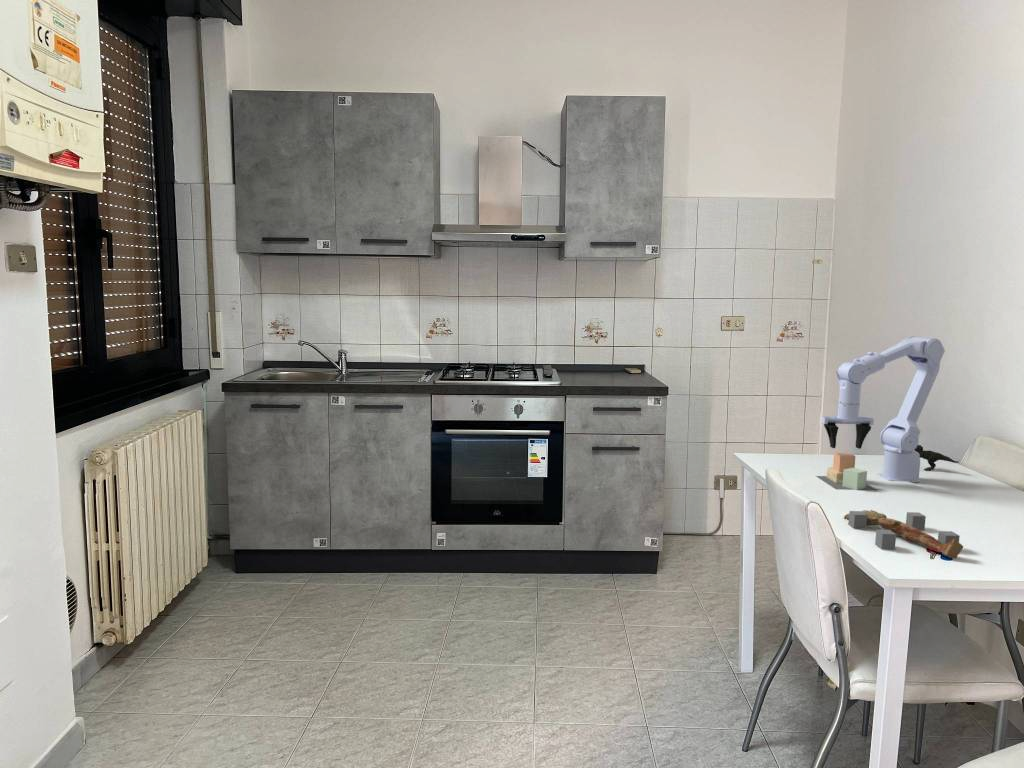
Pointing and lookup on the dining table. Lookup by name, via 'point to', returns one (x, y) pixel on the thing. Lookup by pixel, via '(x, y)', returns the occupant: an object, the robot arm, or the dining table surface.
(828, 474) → the oak slab
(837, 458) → the terracotta cube
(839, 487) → the mat
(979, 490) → the dining table surface
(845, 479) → the sage cube
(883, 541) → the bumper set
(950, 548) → the figurine
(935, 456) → the toy
